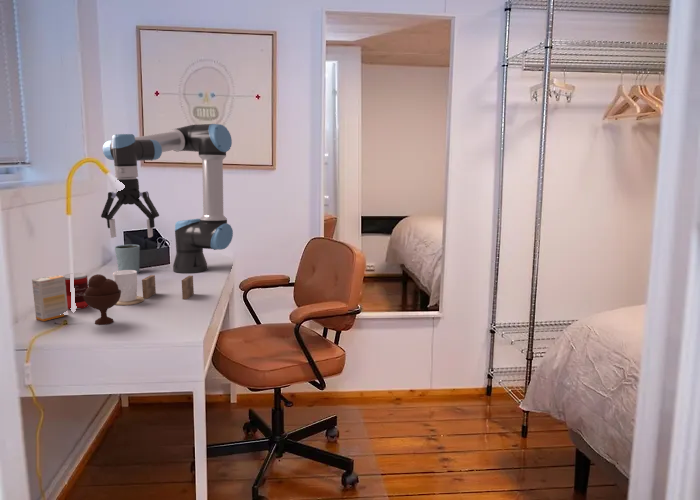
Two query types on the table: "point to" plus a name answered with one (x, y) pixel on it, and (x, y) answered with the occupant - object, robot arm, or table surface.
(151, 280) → the walnut cradle
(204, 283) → the table surface
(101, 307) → the ice cream bowl
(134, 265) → the grey green cup
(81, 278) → the canned food
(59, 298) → the supplement box
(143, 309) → the table surface
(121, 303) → the cork coaster
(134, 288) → the white cup
